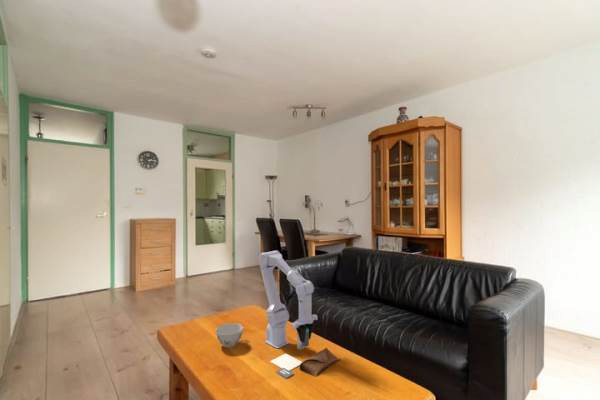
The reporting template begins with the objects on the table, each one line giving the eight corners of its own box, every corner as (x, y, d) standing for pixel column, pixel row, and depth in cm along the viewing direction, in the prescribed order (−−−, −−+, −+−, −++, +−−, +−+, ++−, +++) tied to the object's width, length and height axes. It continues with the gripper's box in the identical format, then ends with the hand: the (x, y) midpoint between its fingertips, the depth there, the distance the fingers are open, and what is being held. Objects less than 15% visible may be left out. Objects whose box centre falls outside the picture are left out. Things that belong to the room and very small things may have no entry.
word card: (276, 372, 118) (276, 371, 118) (283, 368, 121) (283, 367, 121) (286, 378, 114) (286, 377, 114) (293, 374, 116) (293, 373, 116)
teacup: (228, 354, 133) (228, 336, 133) (210, 347, 140) (210, 329, 140) (251, 341, 145) (251, 324, 145) (233, 335, 152) (233, 319, 152)
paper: (270, 361, 126) (270, 361, 126) (285, 354, 132) (285, 353, 132) (287, 372, 118) (287, 371, 118) (303, 363, 125) (303, 362, 125)
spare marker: (295, 348, 138) (295, 332, 138) (300, 345, 140) (300, 330, 140) (300, 350, 135) (300, 335, 135) (305, 348, 138) (305, 332, 138)
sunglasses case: (316, 377, 114) (309, 359, 116) (304, 381, 118) (297, 363, 120) (341, 359, 128) (334, 343, 130) (329, 362, 132) (323, 347, 134)
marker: (299, 344, 131) (299, 328, 132) (305, 342, 134) (305, 326, 134) (305, 347, 129) (305, 330, 129) (310, 344, 131) (310, 328, 132)
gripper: (300, 316, 124) (300, 348, 124) (322, 307, 134) (322, 337, 134) (288, 311, 129) (288, 343, 128) (311, 303, 139) (311, 332, 139)
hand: (305, 340), depth 131 cm, fingers closed on marker, 3 cm apart
